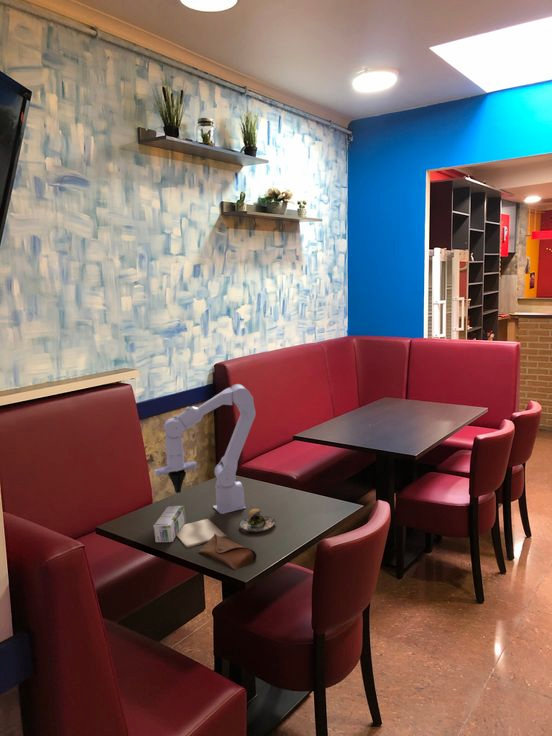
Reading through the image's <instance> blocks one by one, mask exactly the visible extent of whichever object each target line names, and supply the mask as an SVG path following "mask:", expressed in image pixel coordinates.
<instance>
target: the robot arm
mask: <svg viewBox="0 0 552 736" xmlns="http://www.w3.org/2000/svg"><path fill="white" fill-rule="evenodd" d="M233 403H234V404H235V406H236V407H237V409H238V411H239V417H238V418H237V419H238V420H237V422H236V425H235V427H234V430H233V433H232V434H231V437H230V440H229V443H228V445H227V447H226V450H225V452H224V455H223V456H222V457H221V459H220V461H219V462H218V464H216V466H215V467H214V475H215V477H216V482H215V483H214V486H215V499H216V504H215V505H213V506H212V508H213V509H214V510H216V511H217V512H218V513H219V514H220V515H224V514H228V513H232V512H235V511H240V510H243V509H246V508H247V507H246V506H245V492H244V486H243V483H242V482H241V481H236V479H237V475H236V474H237V471H238V462H239V459H240V456H241V453H242V451H243V448H244V446H245V444H246V441H247V438H248V435H249V433H250V431H251V428H252V426H253V423H254V421H255V418H256V414H257V413H256V407H255V402H254V396H253V395H252V394H251V392H250V391H249V390H248V389H247V388H246V387H245V386H244V385H242V384H240V383H236V384H233V385H231V386H230V387H227V388H225V389H223V390H222V391H221V392H219V393H218V394H215V395H214V396H213V397H212V398H210V399H208V400H206V401H204V403H202V404H201V405H198V407H197V406H187V407H186V408H185V410H183V411H182V412H181V413H179V414H175V415H173V418H172V417H170V418H168V419H167V420H165V422H164V425H163V429H164V433H165V454H166V464H167V465H165V466H163V467H160V468H156V469H154V476H155V477H159V476H162V475H168V477H169V479H170V480H171V483H172V486H173V488H174V492H175V493H176V494H178V493H182V487H183V482H184V479H185V477H186V473H187V472H186V471H187V470H191V469H198V463H197V462H196V461H188V462H185V458H184V455H185V453H184V444H183V443H184V442H183V439H182V434H183V432H184V431H186V430H188V429H190V428H192V427H193V426H195V425H196V424H198V423H200V422H201V421H202V419H203V416H204V415H206V414H208V413H211V412H212V411H214V410H216V409H217V408H219V407H221V406H223V405H225V406H233Z"/></svg>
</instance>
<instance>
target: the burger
mask: <svg viewBox="0 0 552 736" xmlns="http://www.w3.org/2000/svg"><path fill="white" fill-rule="evenodd" d="M250 506H251V510H249V512H248V513H247V514H248V515H247V517H245V518H242V519H241V520H240V521H239V524H238V526H239V528H238V529H239V532H240V533H243V534H245V535H249V532H252V533H254V532H255V533H259V532H263V531H266V530H270V529H271V528H273V526H274V525H275V524H276V519H275V518H272V517H270V516H266V515H262V514H260V513H261V511H262V510H260V509H259V508H253V507H252V505H250Z"/></svg>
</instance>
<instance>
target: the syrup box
mask: <svg viewBox="0 0 552 736" xmlns="http://www.w3.org/2000/svg"><path fill="white" fill-rule="evenodd" d="M185 511H186V510H185V506H184V505H173V506H170V505H169V506H167V507H166V508H165V510H164V511H163V512H162V514H161V515H160V517H158V519H157V521H156V522H155V523H154V524H153V533H154V539H155V540H154V541H155V543H171V542H174V540H175V539H176V538H177V536H176V535H177V534H178V532H179V530H180V529H181V527H182V526H183V525H185V524H186V513H185Z"/></svg>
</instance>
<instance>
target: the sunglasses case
mask: <svg viewBox="0 0 552 736" xmlns="http://www.w3.org/2000/svg"><path fill="white" fill-rule="evenodd" d="M196 552H197V554H200V555H203V556H205V557H209V558H210V559H213V560H215V561H217V562H219V563H222V564H224V565H226V566H227V567H229V568H231V569H232V570H234V571H236V570H238V569H240V568H242V567H243V566H245V565H248V564H250V563H252V562H254V561H256V560H257V553H256V551H254V550H253V549H251V548H249V547H246V546H244V545H241V544H239V543H237V542H234V541H233V540H230V539H227V538H222V537H220V536H217V535H216V534H214V536H213V537H212V538H211V539H210V540H209V541H208V542H207V543H204V545H203V547H201V548H200V550H199V551H196Z"/></svg>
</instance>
